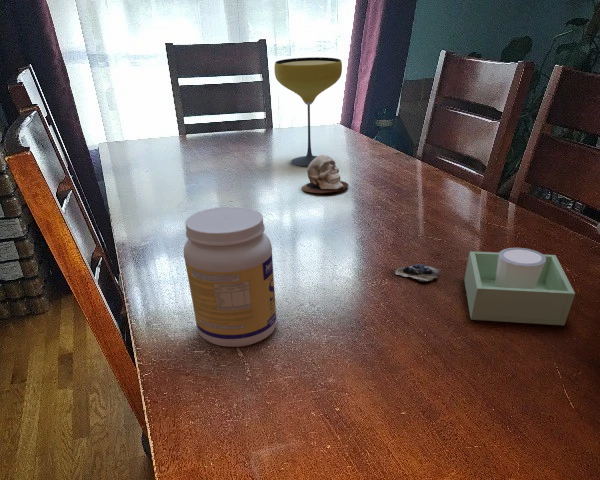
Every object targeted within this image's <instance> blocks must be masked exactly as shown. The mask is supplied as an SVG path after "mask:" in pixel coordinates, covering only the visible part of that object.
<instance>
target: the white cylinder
mask: <svg viewBox="0 0 600 480" xmlns="http://www.w3.org/2000/svg"><path fill="white" fill-rule="evenodd" d="M498 253H499V257H498V265H497V272H496V280H495V287H503V288H522V289H535V287H536V284H537V282H538V280H539V277H540V275H541V272H542V270H543V267H544V265H545V262H546V257H545V256H544V255H545V254H543V253H542V252H540V251H537V250H535V249H530V248H524V247H509V248H504V249H502V250H500V251H499V252H498Z"/></svg>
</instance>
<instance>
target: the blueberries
mask: <svg viewBox="0 0 600 480" xmlns="http://www.w3.org/2000/svg"><path fill="white" fill-rule="evenodd" d="M440 271H441V269H439V268H436V267H433V266H431V265H426V264H421V263H415V264H413V265H411V266H408V265H407V266H404V267H399V268H397V269H396V270H395V271H394V274H395V275H397V276H401V277H404V278H412V279H416V280H417V281H419V282H431V281H433V280H434V279H438V277H439V275H440V274H439V272H440Z"/></svg>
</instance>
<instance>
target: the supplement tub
mask: <svg viewBox="0 0 600 480" xmlns="http://www.w3.org/2000/svg"><path fill="white" fill-rule="evenodd" d="M185 230H186V231H185V236H186V238H187V239H186V241H185V243H184V246H183V258H184V263H185V269H186V274H187V280H188V285H189V292H190V296H191V301H192V308H193V314H194V318H195V325H196V329H197V331H198V333H199V335H200V336H201V337H202V338H203V339H204V340H205V341H207V342H208V343H211V344H213V345H216V346H221V347H228V348H230V347H231V348H238V347H246V346H250V345H254V344H257V343H259V342H261V341H263V340H265V339H267V338H268V337H269V336H270V335H271V334H272V333H273V332H274V330H275V328H276V325H277V320H278V319H277V318H278V317H277V308H276V307H277V306H276V291H275V278H274V277H275V275H274V264H273V263H274V262H273V247H272V243H271V240H270V238H269V236H268V235H267V234H266V233H265V230H266V226H265V224H264V217H263V214H262V213H261V212H260V211H259V210H257V209H253V208H251V207H246V206H237V205H236V206H235V205H234V206H233V205H232V206H231V205H230V206H218V207H211V208H207V209H204V210H200V211H197V212H195V213H193V214H191V215H190V216H188V217H187V219H185Z"/></svg>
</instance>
